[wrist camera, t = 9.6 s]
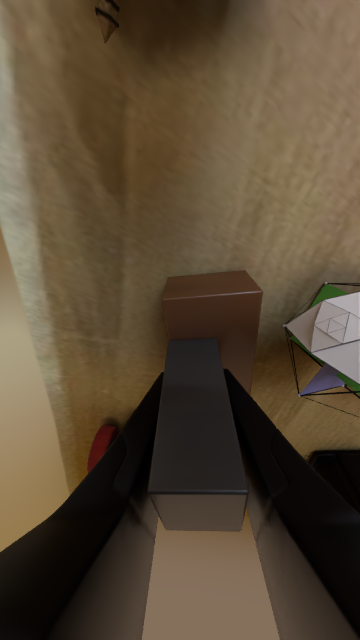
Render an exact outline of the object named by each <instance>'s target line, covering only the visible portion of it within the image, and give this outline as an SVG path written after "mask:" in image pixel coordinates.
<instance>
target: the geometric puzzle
mask: <svg viewBox="0 0 360 640" xmlns="http://www.w3.org/2000/svg"><path fill="white" fill-rule="evenodd" d="M329 284H337V285H349V284H360V283H327V282H325V283H324V285H323V286H322V287H323V288H322V287H321V288H322V289H321V288H320V289H321V291H320V293H319V294H318V296H317V297H316V299H315V300H314V302H313V303H312V305H311V307H310V308H309V309H308V310H307V311H305V312H304V313H302V314H301V315H299V316H298V317H296V318H295V319H293V320H292V321H290V320H291V319H292V318H293V317H294V316H293V317H292V318H291V319H290V320H289V321H290V322H289V321H288V322H287V323H286V324H283V327H285V329H286V330H285V332H286V331H287V329H288V330H289V331H290V332H291V333H292V334H293V335H292V336H291V337H290V335H289V333H288V331H287V333H288V335H289V339H290V340H292V341H293V342H294V343H295V344H297V345H298V346H299V347H300V348H301V349H302V350H303V351H304V352H306V353H307V354H308V355H309V356H310V357H311V358H312V359H313V360H314V361H316V362H317V363H318V364H319V365H320V366H321V367H322V368H321V369H320V371H319V372H318V373H317V374H316V375H315V377H314V378H313V379H312V380H311V382H310V383H309V384H308V385H307V386H306V388H305V389H304V390H303V391H302V392H301V394H299V388H298V381H297V382H296V384H297V389H298V397H300V396H301V397H303V396H310V395H327V394H345V393H353V394H354V395H356V396H357V397H358V398H360V397H359V396H358V395H357V394H355V393H358V394H359V395H360V291H358V292H354V293H350V294H349V293H347V292H345V291H342V290H340V289H338V288H336V287H333V286H331V285H329ZM353 286H360V285H353ZM320 289H319V290H320ZM319 290H318V291H319ZM318 291H317V292H318ZM317 292H316V293H317ZM316 293H315V294H316ZM315 294H314V295H315ZM286 336H287V334H286ZM287 341H288V339H287ZM288 346H289V344H288ZM291 346H292V342H291ZM289 351H290V349H289ZM292 353H293V348H292ZM290 356H291V354H290ZM312 356H313V357H314V358H313V357H312ZM291 360H292V358H291ZM293 360H294V355H293ZM318 361H319V362H320V363H321V364H322V365H324V366H322V365H321V364H320V363H319V362H318ZM292 365H293V363H292ZM294 367H295V362H294ZM293 370H294V368H293ZM295 373H296V368H295ZM295 373H294V375H295ZM295 380H297V375H296V378H295ZM345 383H346V384H345ZM347 385H348V386H349V387H351V388H352V389H353V390H354V391H351V390H350V389H349V388H347V387H346V386H347ZM341 386H342V387H343V386H344V387H345V388H346V389H348V390H349V391H350V392H336V393H321V394H311V393H315V392H320V391H324V390H328V389H332V388H337V387H341ZM304 398H305V397H304ZM307 399H308V398H307ZM310 400H311V399H310ZM312 401H314V400H312ZM315 402H316V401H315ZM318 403H319V402H318ZM321 404H322V403H321ZM324 405H325V404H324ZM326 406H328V405H326ZM329 407H330V406H329ZM332 408H333V407H332ZM335 409H336V408H335ZM337 410H339V409H337ZM340 411H341V410H340ZM343 412H344V411H343ZM346 413H347V412H346ZM348 414H350V413H348ZM351 415H353V414H351ZM354 416H355V415H354ZM357 417H358V416H357Z"/></svg>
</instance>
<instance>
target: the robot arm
mask: <svg viewBox="0 0 360 640" xmlns="http://www.w3.org/2000/svg"><path fill="white" fill-rule="evenodd" d="M223 371H224V376H225V380H226V385H227V390H228V394H229V399H230V404H231V408H232V413H233V418H234V423H235V427H236V432H237V437H238V441H239V446H240V451H241V455H242V460H243V465H244V470H245V474H246V479H247V484H248V488H249V494H248V499H247V504H246V507H247V511H248V515H249V518H250V523H251V527H252V531H253V535H254V538H255V541H256V547H257V551H258V554H259V558H260V562H261V566H262V570H263V574H264V578H265V582H266V586H267V590H268V593H269V598H270V601H271V606H272V610H273V614H274V617H275V621H276V625H277V629H278V633H279V637H280V640H360V451H318V452H316V453H314V455H313V457H312V459H311V461H310V463H308V462H307V461H306V460H305V459H304V458H303V457H302V456H301V455H300V454H299V453H298V452H297V451H296V450H295V449H294V447H293V446H292V445H291V444H290V443H289V442H288V440H287V439H286V438H285V437H284V436H283V435H282V433H281V432H280V431H279V430H278V429H276V426H275V425H274V424H273V423H272V421H271V420H270V419H269V418H268V417H267V415H266V414H265V413H264V412H263V411H262V409H261V408H260V407H259V406H258V404H257V403H256V402H255V401H254V400H253V398H252V397H251V396H250V395H249V394H248V392H247V391H246V390H245V389H244V388H243V386H242V385H241V384H240V383H239V382H238V380H237V379H236V378H235V377H234V375H233V374H232V373H231V372H230V371H229V370H228V369H223ZM163 376H164V372H161V374H160V375H159V377H158V378H157V379H156V381H155V382H154V384H153V385H152V387H151V388H150V390H149V391H148V392H147V394H146V395H145V397H144V398H143V400H142V401H141V403H140V404H139V406H138V407H137V408H136V410H135V411H134V413H133V414H132V416H131V417H130V419H129V420H128V421H127V423H126V424H125V426H124V427H123V429H122V430H121V432H120V433H119V434H118V436H117V437H116V439H115V440H114V442H113V443H112V444H111V446H110V447H109V448H108V450H107V451H106V452H105V454H104V455H103V456H102V457H101V459H100V460H99V461H98V462H97V464H96V465H95V466H94V467H93V469H92V470H91V471H90V472H89V473H88V475H87V476H86V477H85V478H84V479H83V481H82V482H81V483H80V484H79V485H78V487H77V488H76V489H75V490H74V491H73V493H72V494H71V495H70V496H69V497H68V499H67V500H66V501H65V502H64V503H63V504H62V506H60V507H59V508H58V509H57V510H56V511H55V512H54V513H53V514H52V515H51V516H50V517H49V518H47V519H46V520H45V521H43V522H42V523H41V524H39V525H38V526H36V527H35V528H34V529H32V530H31V531H29V532H28V533H26V534H25V535H24V536H22V537H21V538H19V539H18V540H17V541H15V542H14V543H12V544H11V545H10V546H8V547H7V548H5V549H4V550H3V551H2V552H0V640H142V633H143V625H144V617H145V611H146V603H147V596H148V588H149V581H150V574H151V566H152V559H153V552H154V545H155V537H156V530H157V523H158V513H157V511H156V509H155V507H154V505H153V503H152V501H151V499H150V496H149V494H148V484H149V476H150V469H151V462H152V455H153V448H154V441H155V434H156V426H157V419H158V412H159V405H160V398H161V391H162V383H163Z"/></svg>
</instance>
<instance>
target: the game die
mask: <svg viewBox="0 0 360 640" xmlns="http://www.w3.org/2000/svg"><path fill="white" fill-rule="evenodd" d="M95 11H96V15H97V16H98V17H99V21H100V25H101V29H102V33H103V37H104V42H105V43H106V42H107V40H108V39H109V37H110V36H111V34H112V33H113V31H114V29H115V28H116V27H118V28H119V24H118V23H117V11H118V12H120V8H119V6H118V5H117V0H98V8H97V7H96V8H95Z"/></svg>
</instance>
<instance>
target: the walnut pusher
mask: <svg viewBox="0 0 360 640" xmlns="http://www.w3.org/2000/svg"><path fill="white" fill-rule="evenodd" d="M262 294H263V291H262V289H261V288H260V287H259V286H258V285H257V284H256V282H255V281H254V280H253V279H252V278H251V277H250V275H249V274H248V273H247V272H246V271H245V270H243V271H232V272H221V273H210V274H199V275H188V276H177V277H168V279H167V283H166V286H165V290H164V294H163V298H162V304H163V310H164V316H165V322H166V328H167V334H168V340H169V341H168V348H167V355H166V362H165V369H164V376H163V383H162V391H161V398H160V405H159V412H158V419H157V426H156V434H155V441H154V448H153V455H152V462H151V469H150V476H149V484H148V494H149V496H150V499H151V501H152V503H153V505H154V507H155V509H156V511H157V513H158V515H159V517H160V519H161V521H162V523H163V526H164V528H165V529H166V530H186V531H187V530H188V531H238V532H239V531H241V530H242V525H243V519H244V515H245V510H246V504H247V499H248V494H249V488H248V484H247V479H246V474H245V470H244V465H243V460H242V455H241V451H240V446H239V441H238V437H237V432H236V427H235V423H234V418H233V413H232V408H231V404H230V399H229V394H228V390H227V385H226V380H225V376H224V371H223V369H228V370H229V371H230V372H231V373H232V374H233V375H234V377H235V378H236V379H237V380H238V382H239V383H240V384H241V385H242V386H243V388H244V389H245V390H246V391H247V392H248V394H249V395H250V391H251V383H252V375H253V367H254V359H255V351H256V343H257V335H258V327H259V318H260V310H261V302H262Z"/></svg>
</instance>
